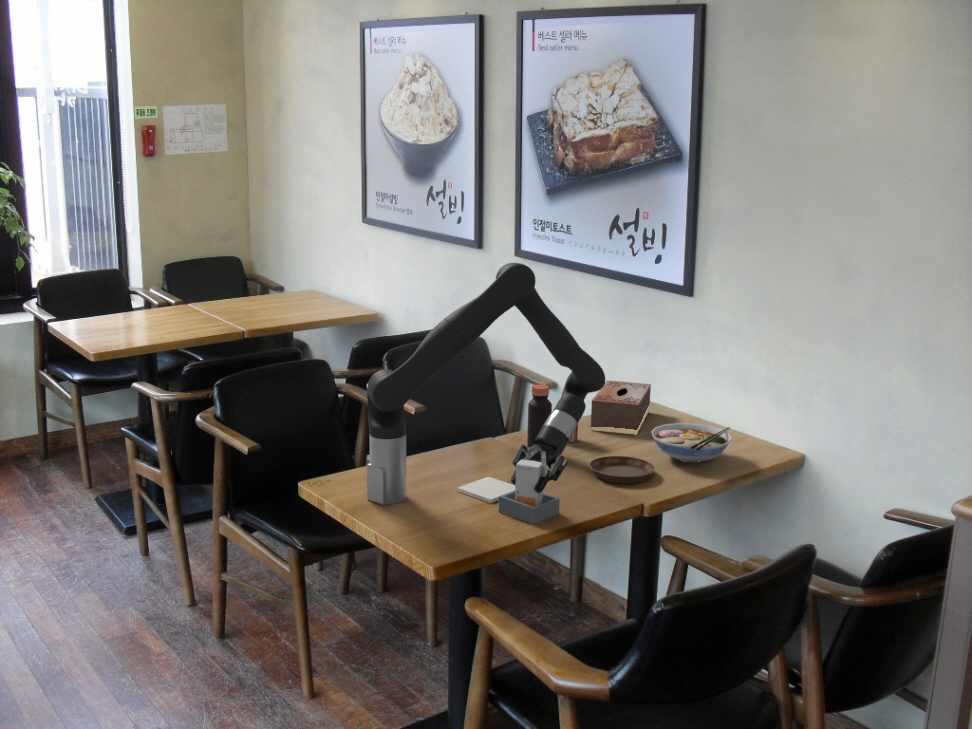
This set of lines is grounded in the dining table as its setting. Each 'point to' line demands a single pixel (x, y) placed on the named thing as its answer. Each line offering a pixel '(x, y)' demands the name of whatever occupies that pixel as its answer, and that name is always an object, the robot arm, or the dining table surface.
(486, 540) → the dining table surface
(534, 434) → the bottle
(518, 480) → the skincare box
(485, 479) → the pale tile
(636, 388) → the tissue box cover
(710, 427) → the ramen bowl
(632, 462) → the plant saucer
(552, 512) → the gray rectangular frame
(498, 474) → the dining table surface
